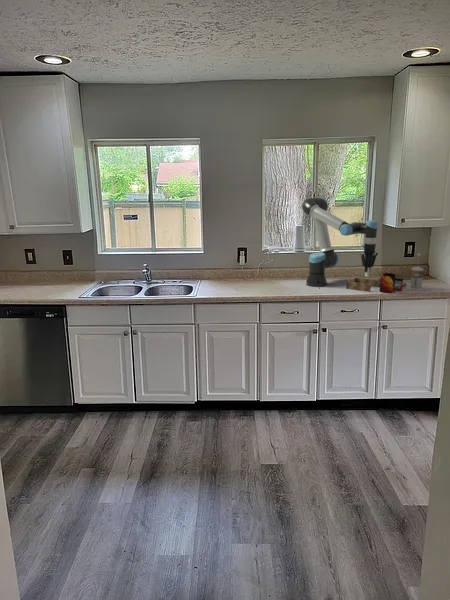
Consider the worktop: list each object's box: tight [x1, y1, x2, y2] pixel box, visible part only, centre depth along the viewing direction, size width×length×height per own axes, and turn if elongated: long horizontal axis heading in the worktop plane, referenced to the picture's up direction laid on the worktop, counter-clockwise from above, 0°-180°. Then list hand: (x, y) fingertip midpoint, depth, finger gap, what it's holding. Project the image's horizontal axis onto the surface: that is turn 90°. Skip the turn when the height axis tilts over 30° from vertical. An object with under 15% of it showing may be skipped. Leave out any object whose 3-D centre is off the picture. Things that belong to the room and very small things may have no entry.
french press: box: [408, 252, 425, 291], centre depth 299 cm, size 10×12×25 cm
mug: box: [378, 272, 404, 294], centre depth 295 cm, size 10×14×12 cm
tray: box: [377, 278, 407, 289], centre depth 314 cm, size 20×16×2 cm
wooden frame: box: [345, 277, 379, 293], centre depth 308 cm, size 17×16×5 cm
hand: (366, 276), depth 305 cm, fingers closed
